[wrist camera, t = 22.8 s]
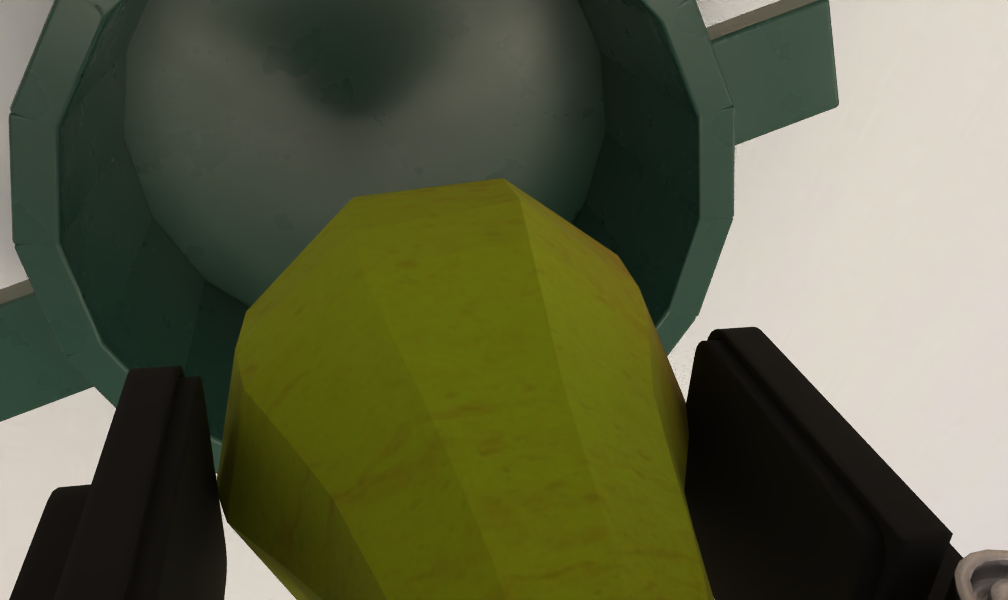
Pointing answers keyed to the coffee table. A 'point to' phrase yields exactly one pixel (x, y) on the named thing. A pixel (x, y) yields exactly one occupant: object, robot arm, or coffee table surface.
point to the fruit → (459, 412)
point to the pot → (360, 153)
